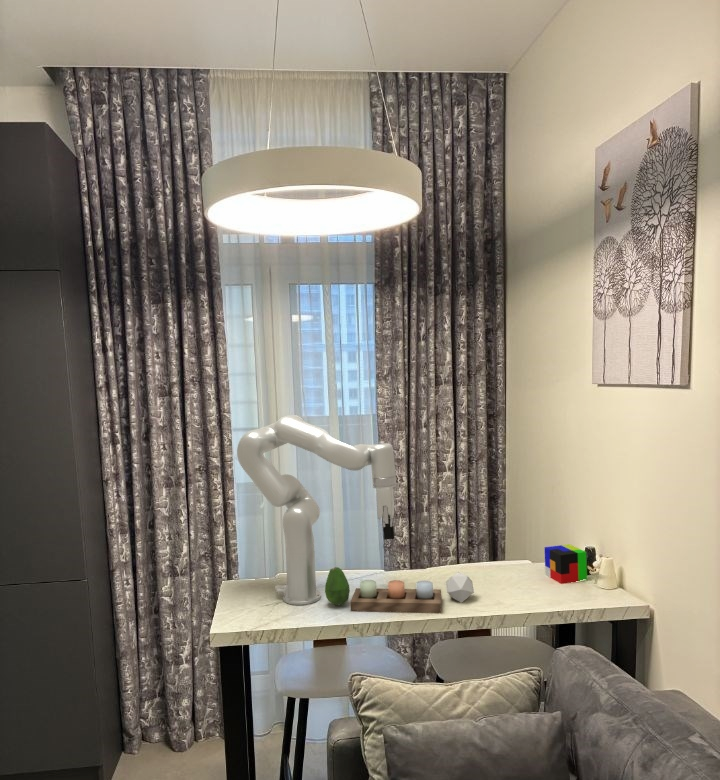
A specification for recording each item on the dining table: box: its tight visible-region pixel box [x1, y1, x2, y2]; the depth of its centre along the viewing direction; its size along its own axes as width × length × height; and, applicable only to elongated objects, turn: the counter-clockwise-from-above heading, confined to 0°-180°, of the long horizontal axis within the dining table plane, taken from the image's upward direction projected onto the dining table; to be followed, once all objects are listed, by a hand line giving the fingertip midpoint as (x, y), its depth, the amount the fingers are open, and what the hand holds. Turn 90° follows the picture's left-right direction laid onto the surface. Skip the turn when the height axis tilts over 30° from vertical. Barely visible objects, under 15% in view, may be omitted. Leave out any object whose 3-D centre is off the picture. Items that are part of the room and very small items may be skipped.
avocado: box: [324, 566, 351, 606], centre depth 190 cm, size 8×8×12 cm
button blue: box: [415, 580, 434, 599], centre depth 187 cm, size 5×5×4 cm
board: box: [349, 587, 442, 614], centre depth 188 cm, size 28×12×3 cm, turn 82°
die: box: [445, 571, 475, 603], centre depth 191 cm, size 8×9×10 cm
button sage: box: [359, 579, 377, 598], centre depth 189 cm, size 5×5×4 cm
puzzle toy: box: [543, 544, 588, 585], centre depth 207 cm, size 10×10×10 cm
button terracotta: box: [387, 579, 406, 599], centre depth 188 cm, size 5×5×4 cm
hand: (389, 538), depth 191 cm, fingers closed
